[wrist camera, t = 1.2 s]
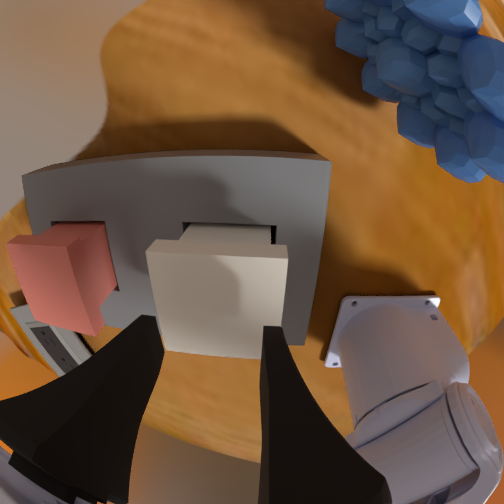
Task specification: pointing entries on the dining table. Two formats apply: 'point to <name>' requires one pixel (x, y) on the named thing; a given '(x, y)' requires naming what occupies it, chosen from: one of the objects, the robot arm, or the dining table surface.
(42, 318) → the red plunger
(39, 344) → the electrical outlet
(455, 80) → the grapes
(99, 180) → the panel
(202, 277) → the white plunger
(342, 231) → the dining table surface
